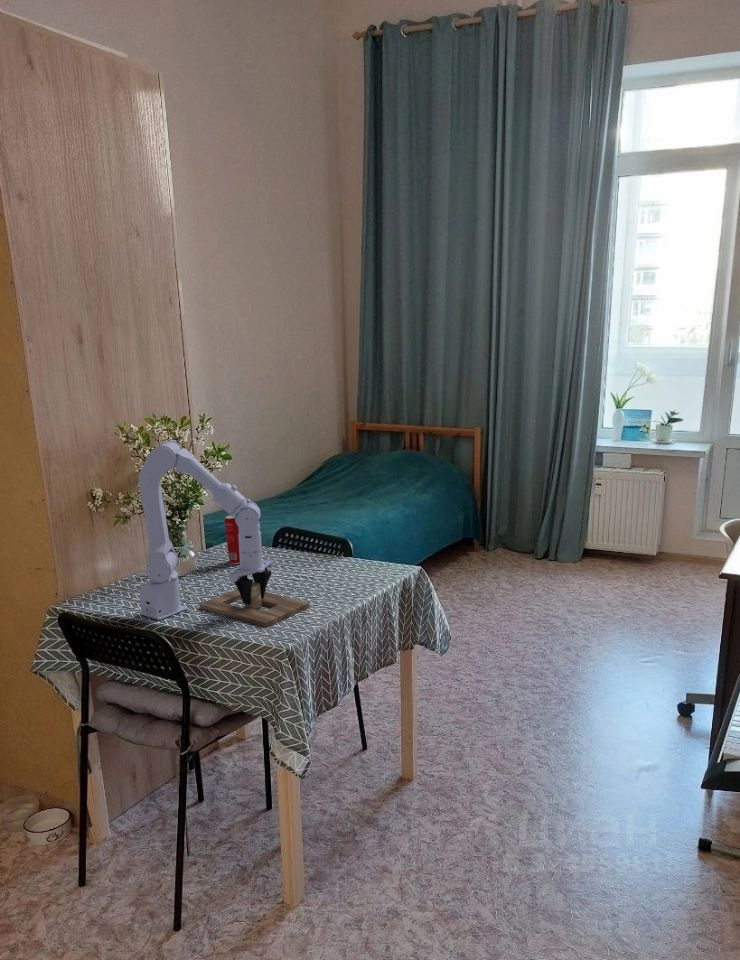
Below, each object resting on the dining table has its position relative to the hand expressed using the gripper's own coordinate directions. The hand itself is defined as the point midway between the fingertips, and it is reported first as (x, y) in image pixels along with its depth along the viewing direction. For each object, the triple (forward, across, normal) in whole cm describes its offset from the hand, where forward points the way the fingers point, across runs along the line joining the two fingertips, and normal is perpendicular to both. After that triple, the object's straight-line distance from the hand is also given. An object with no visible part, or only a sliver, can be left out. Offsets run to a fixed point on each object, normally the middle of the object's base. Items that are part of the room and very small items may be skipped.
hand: (253, 600), depth 192 cm
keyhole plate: (+2, 0, 0) cm, 2 cm away
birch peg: (+2, 0, 0) cm, 2 cm away
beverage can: (+2, +26, +33) cm, 42 cm away
